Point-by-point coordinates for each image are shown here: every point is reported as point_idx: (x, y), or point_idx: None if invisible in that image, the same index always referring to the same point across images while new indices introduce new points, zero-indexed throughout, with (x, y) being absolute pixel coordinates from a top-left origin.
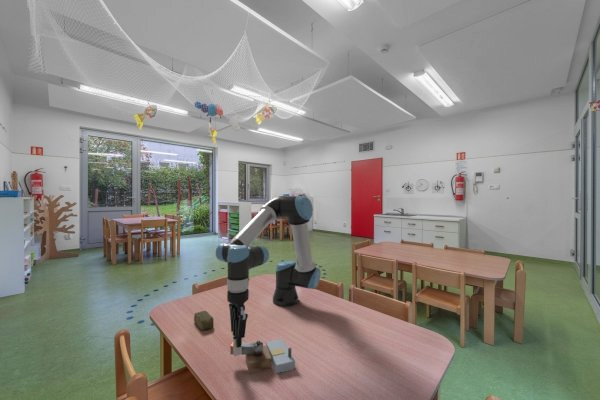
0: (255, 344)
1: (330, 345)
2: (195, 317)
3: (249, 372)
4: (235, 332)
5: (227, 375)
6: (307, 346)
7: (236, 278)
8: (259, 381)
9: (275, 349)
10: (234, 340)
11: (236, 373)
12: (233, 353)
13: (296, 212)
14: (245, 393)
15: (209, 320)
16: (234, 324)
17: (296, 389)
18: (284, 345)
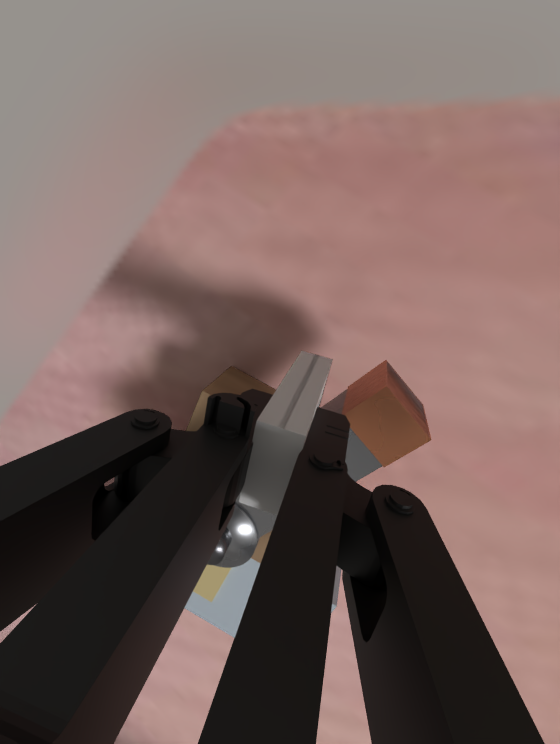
0: (230, 523)
1: (145, 705)
2: None
3: (227, 370)
4: (208, 468)
5: (317, 268)
6: (204, 667)
7: None
8: (152, 366)
9: (226, 574)
10: (272, 409)
11: (290, 319)
12: (324, 361)
13: None
14: (124, 261)
15: None
16: (253, 588)
17: (24, 435)
18: (225, 624)
